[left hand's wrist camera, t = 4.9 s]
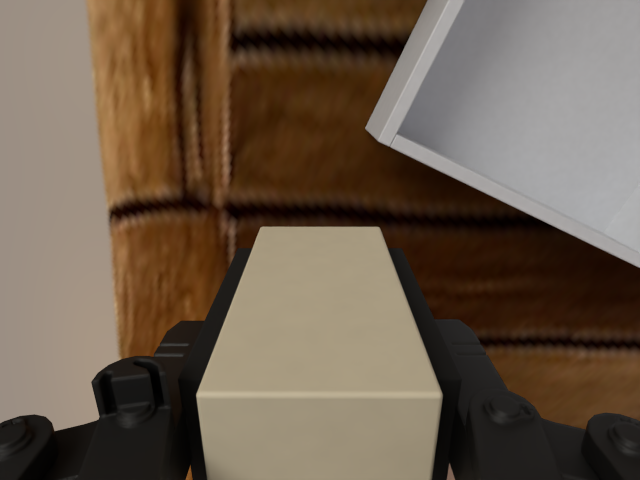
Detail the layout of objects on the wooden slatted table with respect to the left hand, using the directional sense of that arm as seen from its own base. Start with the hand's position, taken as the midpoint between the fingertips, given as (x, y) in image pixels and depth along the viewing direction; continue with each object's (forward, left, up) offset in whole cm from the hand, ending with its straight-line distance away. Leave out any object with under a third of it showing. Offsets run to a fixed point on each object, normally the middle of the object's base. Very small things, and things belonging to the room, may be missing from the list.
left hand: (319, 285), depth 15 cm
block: (0, 0, 0) cm, 0 cm away
